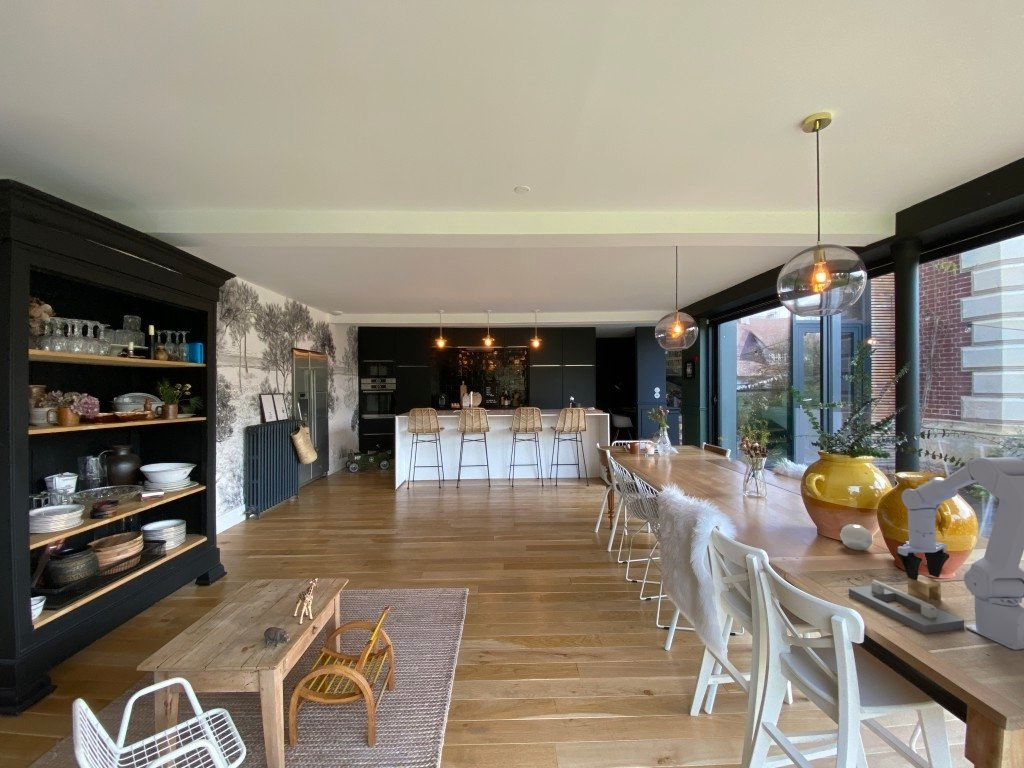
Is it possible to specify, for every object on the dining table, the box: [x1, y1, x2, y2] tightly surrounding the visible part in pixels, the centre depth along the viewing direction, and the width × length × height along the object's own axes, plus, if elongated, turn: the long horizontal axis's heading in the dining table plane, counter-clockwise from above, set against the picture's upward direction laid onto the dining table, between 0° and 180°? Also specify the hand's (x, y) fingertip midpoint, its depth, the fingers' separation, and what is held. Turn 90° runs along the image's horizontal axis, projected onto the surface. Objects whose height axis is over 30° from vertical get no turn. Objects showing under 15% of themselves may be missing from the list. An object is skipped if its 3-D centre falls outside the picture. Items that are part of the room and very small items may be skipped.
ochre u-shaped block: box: [906, 574, 942, 603], centre depth 123 cm, size 5×5×5 cm
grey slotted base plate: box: [848, 579, 965, 634], centre depth 116 cm, size 20×12×5 cm, turn 9°
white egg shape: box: [838, 523, 873, 551], centre depth 161 cm, size 9×10×15 cm
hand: (923, 577), depth 123 cm, fingers open, 7 cm apart
